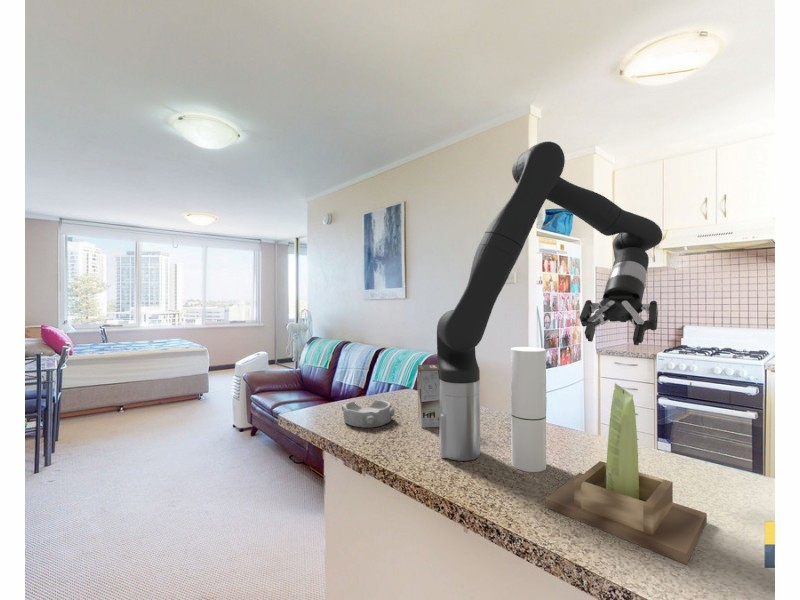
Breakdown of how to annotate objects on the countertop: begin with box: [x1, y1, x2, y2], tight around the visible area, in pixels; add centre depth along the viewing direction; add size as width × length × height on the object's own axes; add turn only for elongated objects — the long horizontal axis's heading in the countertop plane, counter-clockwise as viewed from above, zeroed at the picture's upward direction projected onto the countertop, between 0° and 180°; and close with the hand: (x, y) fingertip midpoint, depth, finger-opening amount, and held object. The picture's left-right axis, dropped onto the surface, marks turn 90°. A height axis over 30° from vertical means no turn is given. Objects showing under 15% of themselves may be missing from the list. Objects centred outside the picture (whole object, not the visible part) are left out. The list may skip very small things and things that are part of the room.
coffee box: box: [416, 363, 440, 429], centre depth 113 cm, size 9×6×16 cm
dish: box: [341, 399, 395, 428], centre depth 115 cm, size 14×14×5 cm
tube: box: [606, 382, 640, 500], centre depth 65 cm, size 6×5×20 cm
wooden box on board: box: [545, 460, 708, 565], centre depth 65 cm, size 20×14×6 cm
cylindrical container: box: [510, 346, 547, 473], centre depth 84 cm, size 7×7×25 cm
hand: (611, 340), depth 80 cm, fingers open, 8 cm apart
